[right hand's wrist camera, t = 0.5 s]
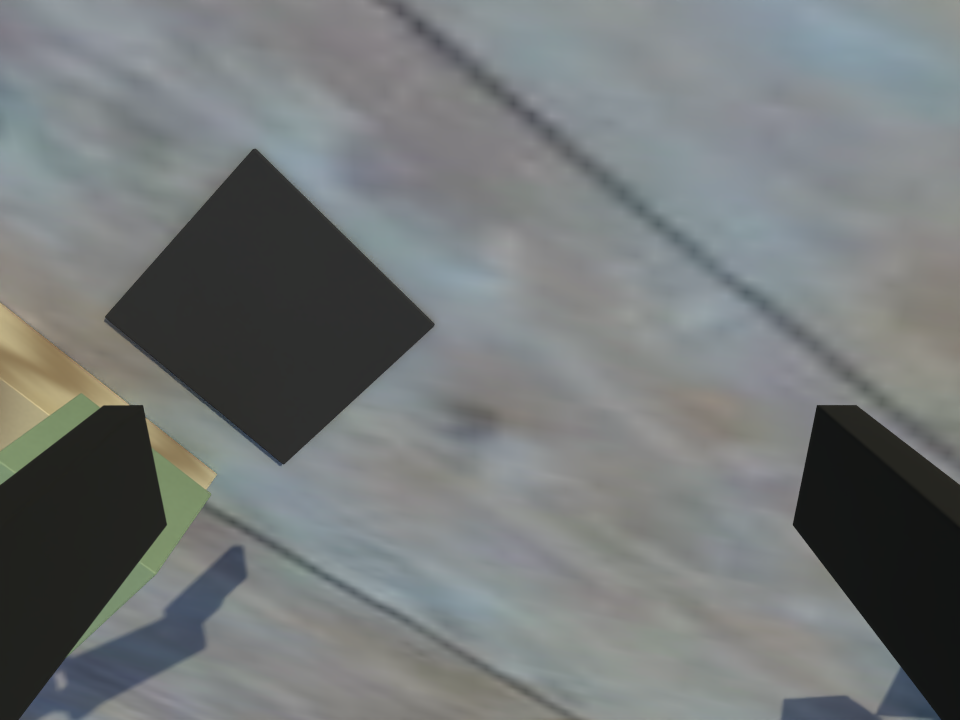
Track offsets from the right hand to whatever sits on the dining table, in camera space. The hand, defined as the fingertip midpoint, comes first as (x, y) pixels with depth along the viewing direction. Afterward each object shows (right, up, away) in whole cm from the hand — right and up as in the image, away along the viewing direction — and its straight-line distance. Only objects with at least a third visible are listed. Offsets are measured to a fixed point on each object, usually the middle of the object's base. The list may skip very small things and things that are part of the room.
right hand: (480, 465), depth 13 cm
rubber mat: (-13, +5, +26) cm, 30 cm away
